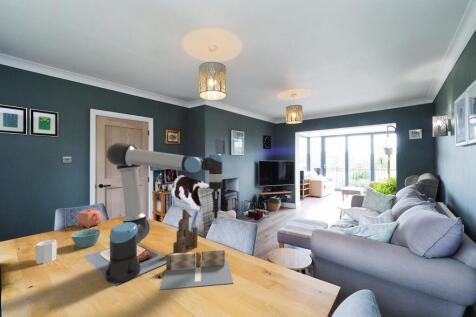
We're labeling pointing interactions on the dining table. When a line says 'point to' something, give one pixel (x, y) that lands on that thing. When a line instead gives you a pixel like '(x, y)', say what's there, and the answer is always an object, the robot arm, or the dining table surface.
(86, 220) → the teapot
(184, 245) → the wooden toy
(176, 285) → the card
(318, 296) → the dining table surface
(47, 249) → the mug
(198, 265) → the beige wooden panel
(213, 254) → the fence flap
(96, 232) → the bowl
